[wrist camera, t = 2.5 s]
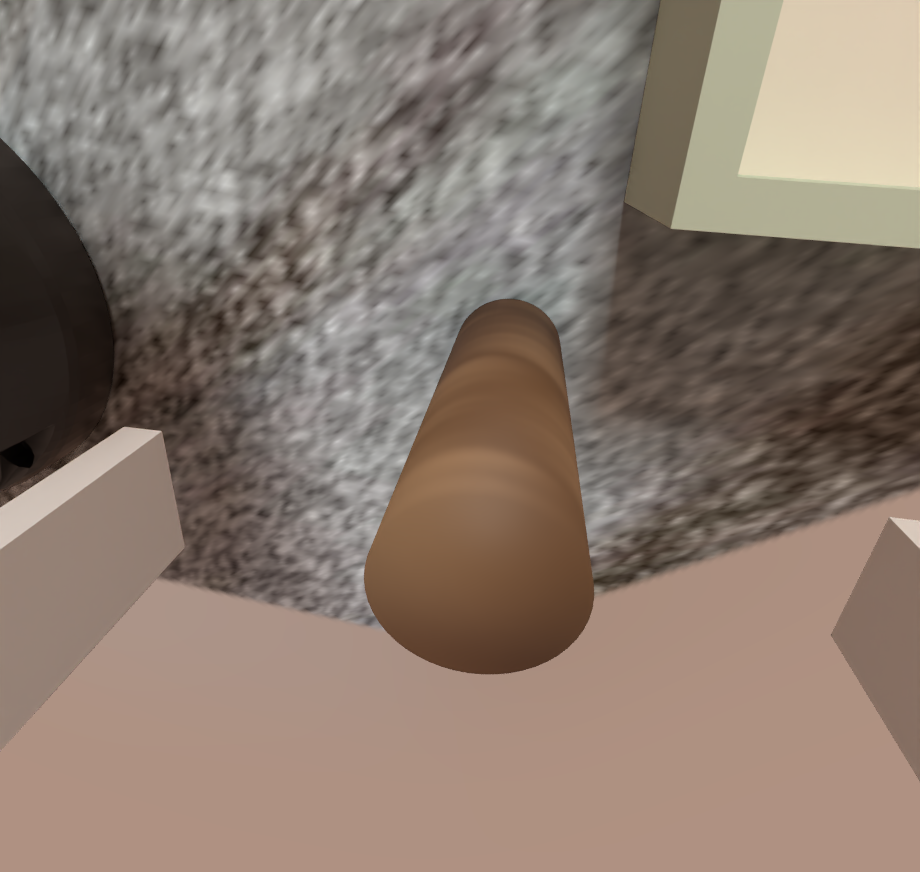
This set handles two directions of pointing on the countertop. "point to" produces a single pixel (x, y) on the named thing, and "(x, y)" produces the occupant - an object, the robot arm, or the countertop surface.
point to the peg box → (783, 120)
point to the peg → (488, 508)
